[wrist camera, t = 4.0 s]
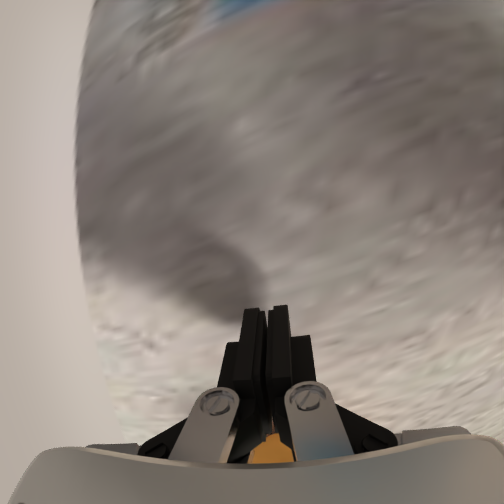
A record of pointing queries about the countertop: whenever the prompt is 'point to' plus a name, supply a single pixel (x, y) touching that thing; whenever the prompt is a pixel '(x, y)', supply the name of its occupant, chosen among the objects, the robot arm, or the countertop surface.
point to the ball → (272, 451)
